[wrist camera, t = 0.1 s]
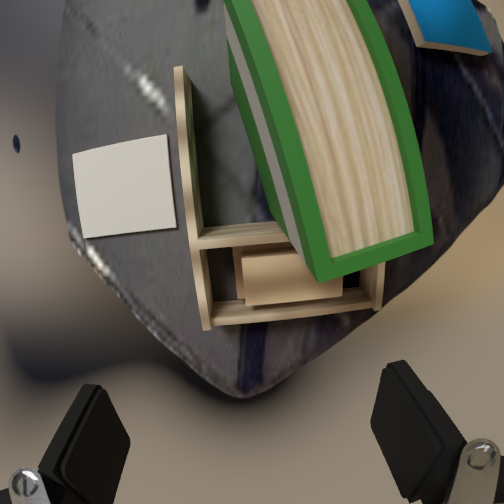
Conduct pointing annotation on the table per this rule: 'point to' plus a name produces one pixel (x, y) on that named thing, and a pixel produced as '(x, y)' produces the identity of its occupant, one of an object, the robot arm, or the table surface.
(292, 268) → the oak offcut
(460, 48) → the book
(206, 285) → the rack
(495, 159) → the table surface
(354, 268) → the hardback book
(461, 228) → the table surface
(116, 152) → the mat
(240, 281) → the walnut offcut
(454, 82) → the table surface
